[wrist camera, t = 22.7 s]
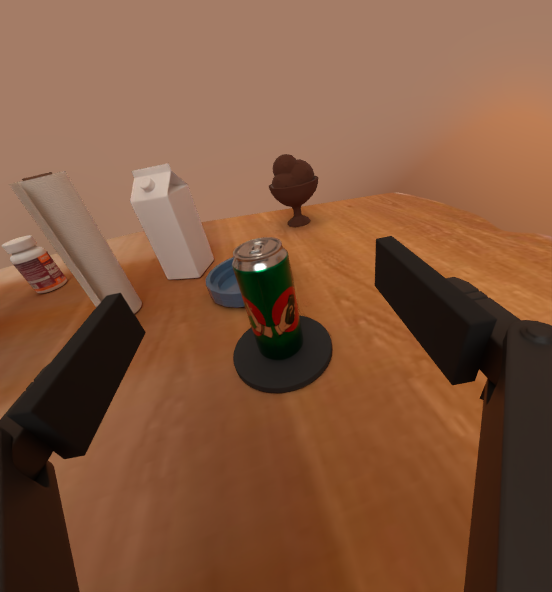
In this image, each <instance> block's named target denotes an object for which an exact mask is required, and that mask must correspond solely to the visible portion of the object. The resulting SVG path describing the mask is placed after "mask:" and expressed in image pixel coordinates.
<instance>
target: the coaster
mask: <svg viewBox="0 0 552 592" xmlns="http://www.w3.org/2000/svg"><path fill="white" fill-rule="evenodd" d="M299 317H300V323H301V328H302V334H303V345H302V347H301V349H300V350H299V351H298V352H297V353H296V354H295V355H294V356H292V357H290V358H288V359H285V360H272V359H269V358H266V357H264V356H263V355H262V354H261V353H260V351H259V349H258V346H257V343H256V340H255V336H254V333H253V330H252V327H251V328H250V329H249V330H247V331H246V332H245V333H244V334H243V336H242V337H241V338H240V339H239V341H238V343H237V345H236V347H235V350H234V356H233V360H234V365H235V368H236V370H237V373H238V375H239V376H240V378H241V379H242V380H243V381H244V382H245V383H246V384H247V385H249V386H250V387H252V388H254V389H257V390H259V391H263V392H269V393H284V392H290V391H294V390H297V389H300V388H302V387H304V386H306V385H308V384H310V383H312V382H313V381H314V380H316V379H317V378H318V377H319V376H320V375H321V374H322V373H323V372H324V371H325V369H326V368H327V366H328V364H329V362H330V360H331V356H332V343H331V338H330V336H329V333H328V332H327V330H326V329H325V328H324V327H323V326H322V325H321V324H320V323H318V322H317V321H315V320H313V319H311V318H308V317H305V316H300V315H299Z"/></svg>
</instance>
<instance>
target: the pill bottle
mask: <svg viewBox="0 0 552 592" xmlns="http://www.w3.org/2000/svg"><path fill="white" fill-rule="evenodd" d="M36 244H37V242H36V241H35V240H34V238H33V237H32V236H24V237H20V238H17V239H14V240H12V241H9V242H7V243H5V244H3V245H2V247H3V248H4V249H5V251H6V252H7V253H8V254H12V256H11V258H10V261H11V262H12V264H13V265H14V266H15V267H16V268H17V269H18V271H19V272H20V273H21V274H22V275H23V277H24V278H25V279H26V280H27V281H28V283H29V284H30V285H31V286H32V287H33V289H34V290H35V291H36V292H37V293H47V292H50V291H53V290H55V289H58V288H59V287H61V286H63V285H64V284H65V283H66V282H67V278H66V277H65V276H64V274H63V273H62V272H61V270H60V269H59V268H58V266H57V265H56V263H55V262H54V261H53V259H52V258H51V257H50V255H49V254H48V252H47V251H46V250H45V249H44V248H43V247H39V246H36Z"/></svg>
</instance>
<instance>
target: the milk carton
mask: <svg viewBox="0 0 552 592" xmlns="http://www.w3.org/2000/svg"><path fill="white" fill-rule="evenodd" d="M132 174H133V176H134V183H133V189H132V194H131V199H130V202H131V205H132V207H133V209H134V211H135V213H136V215H137V217H138V219H139V221H140V223H141V225H142V227H143V229H144V231H145V233H146V236H147V238H148V240H149V242H150V244H151V246H152V248H153V250H154V252H155V254H156V256H157V258H158V260H159V262H160V264H161V266H162V268H163V271H164V273H165V275H166V277H167V279H168V280H170V279H185V278H199V277H201V275H202V274H203V273H204V272H205V271H206V269H207V268H208V267H209V266H210V264H211V263H212V262H213V261H214V257H213V254H212V251H211V248H210V246H209V243H208V240H207V237H206V234H205V232H204V229H203V226H202V223H201V220H200V217H199V215H198V212H197V209H196V206H195V203H194V201H193V198H192V195H191V192H190V190H189V187H188V185H187V183H185V182H184V181H183V180H182V179H181V178H179V177H178V176H177V175H176V174H175V173H173V172H172V171H171V168H170V166H169V164H163V165H159V166H154V167H149V168H144V169H139V170H134V171H132Z"/></svg>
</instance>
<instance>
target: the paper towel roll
mask: <svg viewBox="0 0 552 592" xmlns="http://www.w3.org/2000/svg"><path fill="white" fill-rule="evenodd" d="M22 180H23V181H21V182H17V183H13V184H10V186H11V188H12V189H13V191H14V192H15V194H16V195H17V196H18V198H19V199H20V200H21V202H22V204H23V205H24V206H25V208H26V209H27V211H28V212H29V213H30V215H31V216H32V218H33V219H34V220H35V222H36V223H37V225H38V226H39V227H40V229H41V230H42V232H43V233H44V234H45V236H46V237H47V239H48V240H49V241H50V243H51V244H52V246H53V247H54V249H55V250H56V251H57V253H58V254H59V256H60V257H61V258H62V260H63V261H64V263H65V264H66V265H67V267H68V268H69V270H70V271H71V272H72V274H73V275H74V277H75V278H76V279H77V281H78V282H79V284H80V285H81V287H82V288H83V289H84V291H85V292H86V294H87V295H88V296H89V298H90V299H91V301H92V302H93V303H94V305H95V306H96V307H97V306H98V305H99V304H100V303H101V301H102V300H103V299H104V298H105V297H106V296H107V295H111V294H116V293H121V294H122V295H123V297H124V298H125V300H126V302H127V303H128V305H129V307H130V308H131V310H132V311H133V313H134V314H135V313H136V312H137V311H138V310H139V309H140V308H141V305H142V302H141V300H140V298H139V297H138V295H137V293H136V291H135V290H134V288H133V286H132V285H131V283H130V281H129V279H128V278H127V276H126V274H125V273H124V271H123V269H122V267H121V266H120V264H119V262H118V261H117V259H116V257H115V256H114V254H113V252H112V250H111V249H110V247H109V245H108V244H107V242H106V240H105V239H104V237H103V235H102V233H101V232H100V230H99V228H98V227H97V225H96V223H95V221H94V220H93V218H92V216H91V215H90V213H89V211H88V209H87V208H86V206H85V204H84V202H83V201H82V199H81V197H80V196H79V194H78V192H77V191H76V189H75V187H74V185H73V184H72V182H71V180H70V178H69V177H68V175H67V173H66V172H65V171H64V172H59V173H55V174H52V173H51V172H50V173H46V174H41V175H38V176H33V177H29V178H24V179H22Z"/></svg>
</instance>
